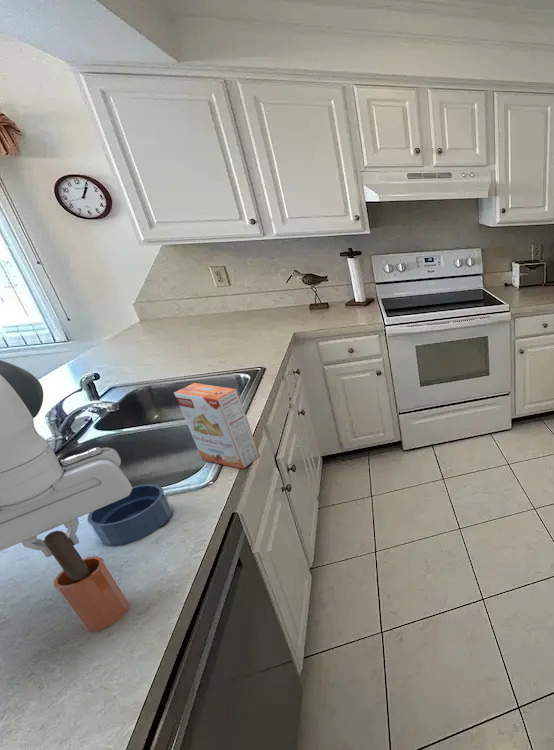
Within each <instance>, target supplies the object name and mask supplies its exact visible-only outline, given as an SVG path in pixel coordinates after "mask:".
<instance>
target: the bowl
mask: <svg viewBox="0 0 554 750" xmlns="http://www.w3.org/2000/svg"><path fill="white" fill-rule="evenodd" d="M132 488H133V489H132V491H131V493H130V495H129V496H127V497H125V498H123V499H120V500H118V501H116V502H113V503H111V504H109V505H106V506H104V507H102V508H99V509H97V510H95V511H93V512H90V513H88V514H87V523H88V525H89V527H90V528H91V529H92V532H93V533H94V535H95V536H96V538H97V539H98V541H99V542H100V543H101V544H102V545H104V546H110V547H115V546H122V545H127V544H130V543H132V542H136V541H139V540H141V539H143V538H145V537H147V536H149V535H151V534H153V533H154V532H156V531H157V530H158V529H159V528H161V527H162V526H163V525H164V524H165V523H166V522H167V521H168V520H169V519H170V517H171V515H172V513H173V507H172V504H171V503H170V500H169V499H168V496H167V494H166V493H165V490H164V488H163V487H162V486H160V485H159V484H154V483H147V484H139V485H135V486H132Z"/></svg>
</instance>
